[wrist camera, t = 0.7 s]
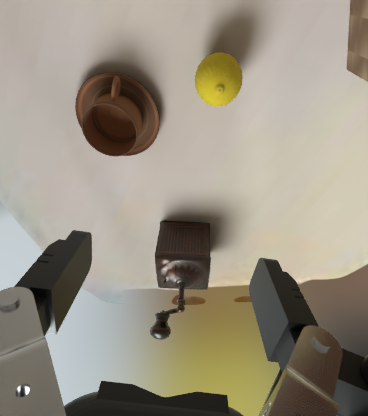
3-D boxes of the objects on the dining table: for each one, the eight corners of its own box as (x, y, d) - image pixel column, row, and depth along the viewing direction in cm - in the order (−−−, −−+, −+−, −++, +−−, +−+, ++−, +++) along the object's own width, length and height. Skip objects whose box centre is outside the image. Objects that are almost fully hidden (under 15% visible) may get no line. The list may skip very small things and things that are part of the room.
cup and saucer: (66, 74, 35) (45, 88, 30) (152, 64, 33) (143, 77, 29) (96, 152, 42) (83, 172, 38) (166, 146, 41) (162, 167, 36)
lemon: (247, 70, 33) (256, 89, 27) (215, 102, 36) (217, 125, 30) (218, 35, 30) (221, 47, 24) (187, 72, 33) (183, 91, 27)
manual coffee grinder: (156, 219, 52) (139, 302, 38) (210, 222, 51) (212, 306, 38) (161, 265, 62) (149, 342, 49) (206, 267, 62) (206, 346, 48)
